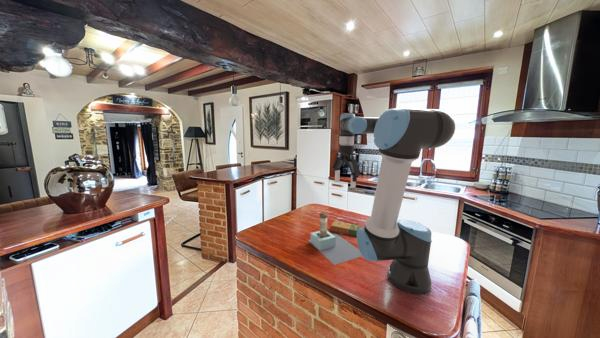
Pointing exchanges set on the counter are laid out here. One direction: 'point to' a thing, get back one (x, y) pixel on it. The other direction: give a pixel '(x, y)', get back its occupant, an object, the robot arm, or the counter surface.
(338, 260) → the mat
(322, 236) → the tan wooden dowel
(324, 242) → the rectangular frame
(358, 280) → the counter surface
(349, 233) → the carton
